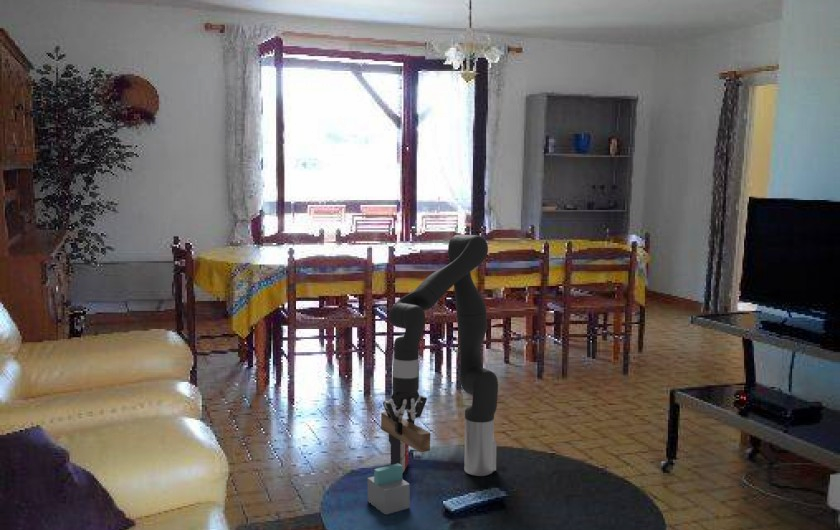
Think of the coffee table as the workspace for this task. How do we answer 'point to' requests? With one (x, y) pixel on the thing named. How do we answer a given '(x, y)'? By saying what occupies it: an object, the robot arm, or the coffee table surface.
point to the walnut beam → (407, 433)
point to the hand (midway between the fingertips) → (404, 433)
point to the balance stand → (389, 489)
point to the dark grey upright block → (399, 452)
